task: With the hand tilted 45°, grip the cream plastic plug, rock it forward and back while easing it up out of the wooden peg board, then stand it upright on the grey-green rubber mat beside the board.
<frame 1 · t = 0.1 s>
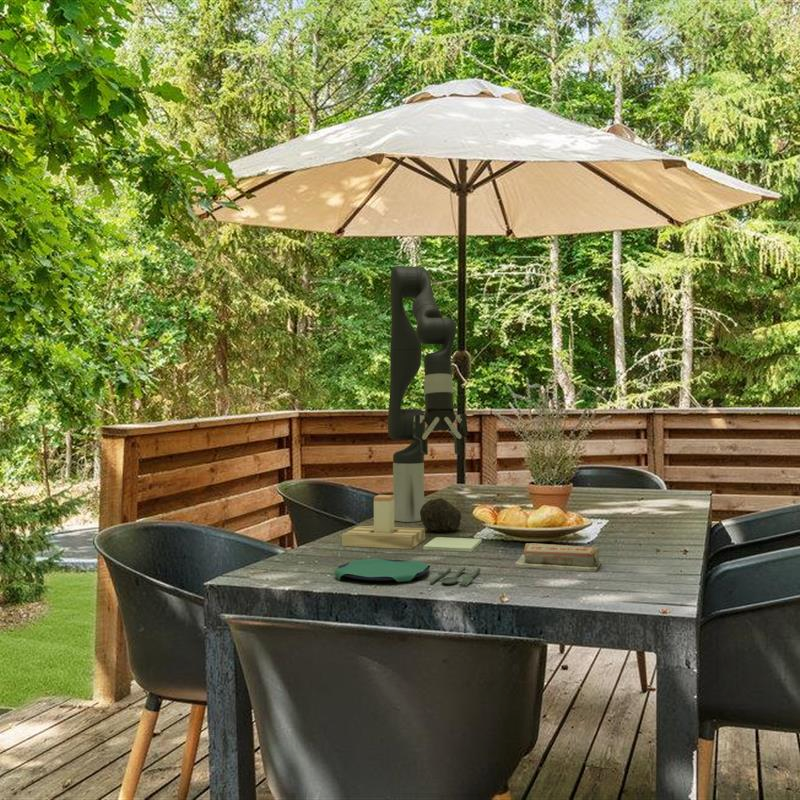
hand: (441, 454, 240), 22 cm above the table, fingers open, 8 cm apart
wooden peg board: (384, 542, 236), on the table
packaged product: (558, 568, 206), on the table
rock: (441, 532, 254), on the table
plug: (384, 519, 236), in the wooden peg board
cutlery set: (405, 579, 194), on the table
mat: (453, 545, 231), on the table
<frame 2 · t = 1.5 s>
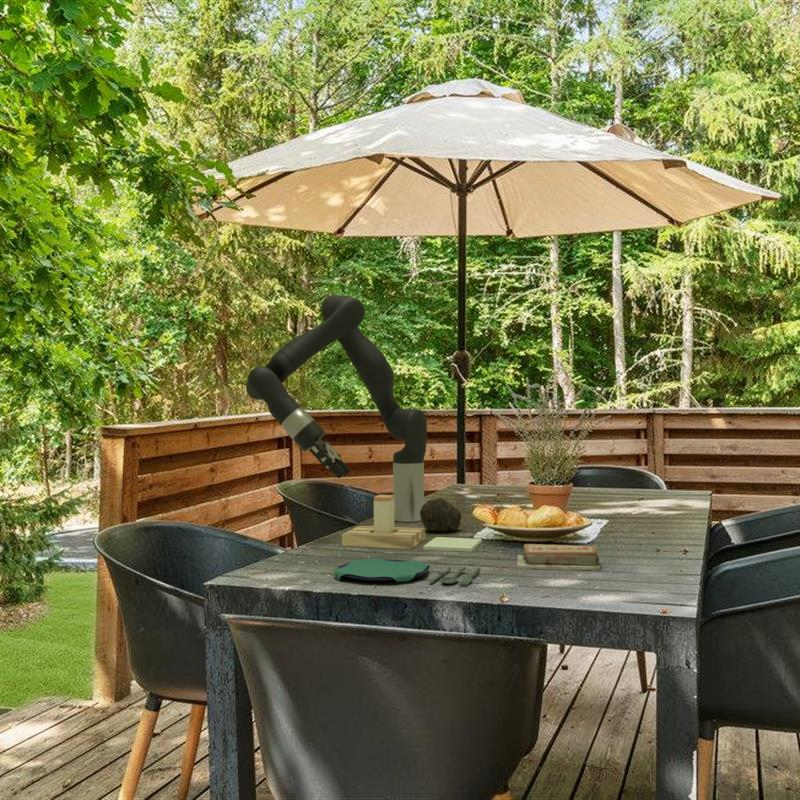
hand: (345, 474, 237), 17 cm above the table, fingers open, 8 cm apart
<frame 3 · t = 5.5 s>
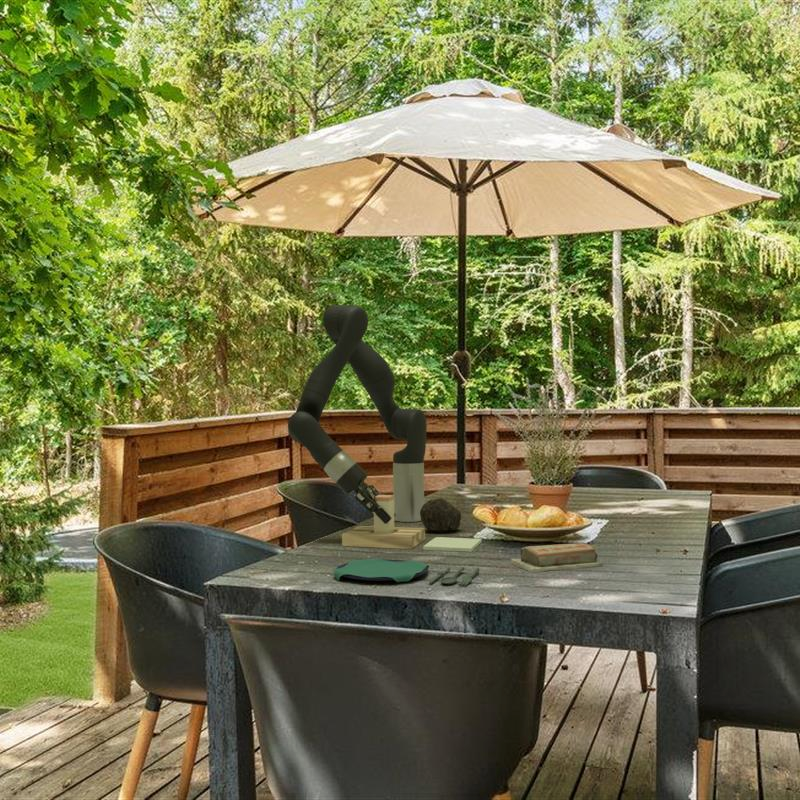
hand: (391, 519, 235), 6 cm above the table, fingers closed on plug, 5 cm apart
plug: (384, 519, 236), in the wooden peg board, touching gripper
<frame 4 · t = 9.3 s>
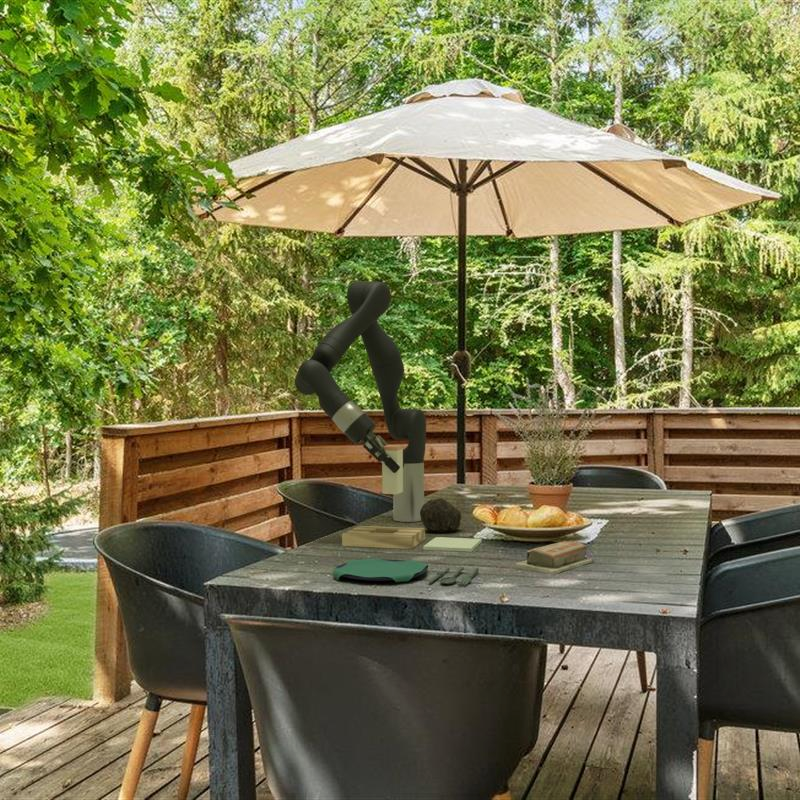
hand: (399, 469, 235), 19 cm above the table, fingers closed on plug, 5 cm apart
plug: (392, 469, 235), point 19 cm above the table, touching gripper
when the fingers open (8 cm above the table, at t = 13.0 s): plug drops 1 cm, resting on mat.
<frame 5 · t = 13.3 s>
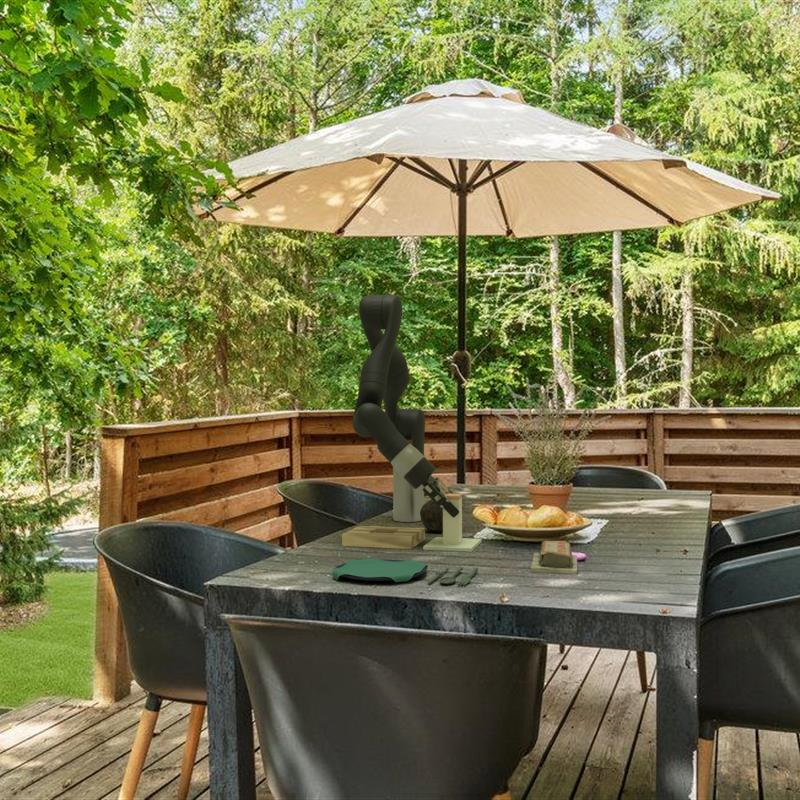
hand: (458, 512, 231), 8 cm above the table, fingers open, 7 cm apart
plug: (452, 518, 231), on the mat, point 7 cm above the table
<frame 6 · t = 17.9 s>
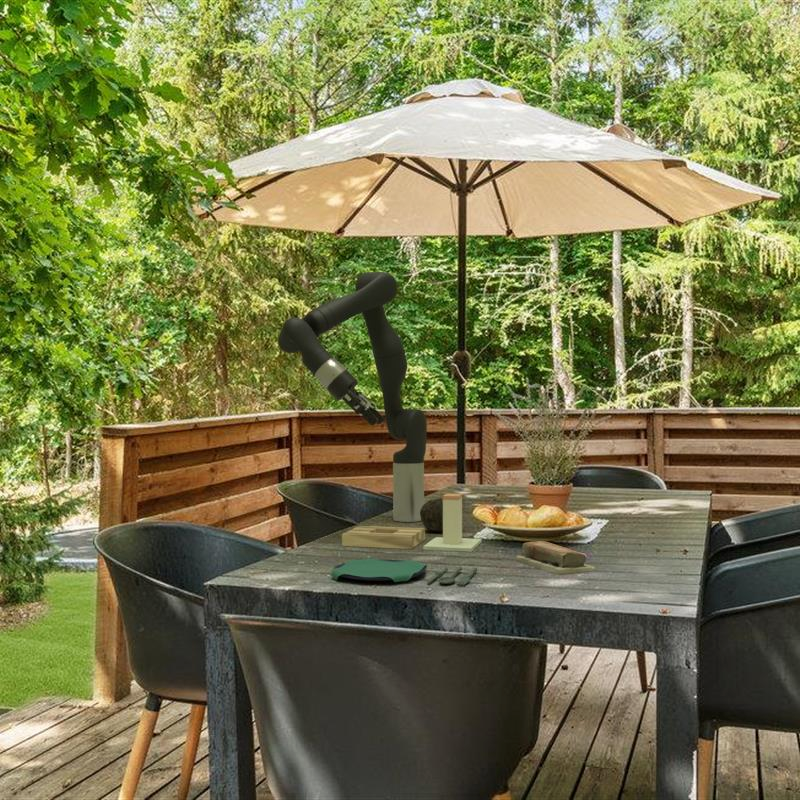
hand: (378, 422, 240), 31 cm above the table, fingers open, 8 cm apart
at the end: plug inside the target area on the mat (0.1 cm from its centre), point 6.8 cm above the mat's base; plug tilted 0°; the gripper is holding nothing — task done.
